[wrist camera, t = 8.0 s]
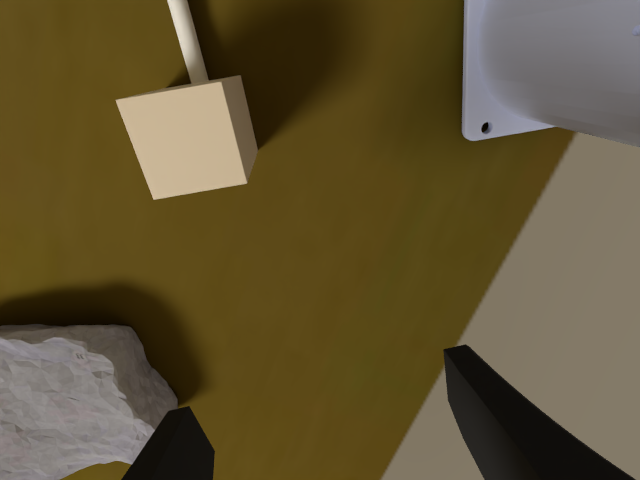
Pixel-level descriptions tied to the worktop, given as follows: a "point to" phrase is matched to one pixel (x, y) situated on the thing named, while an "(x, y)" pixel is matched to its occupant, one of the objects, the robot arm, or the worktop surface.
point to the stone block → (75, 399)
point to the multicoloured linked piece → (191, 125)
